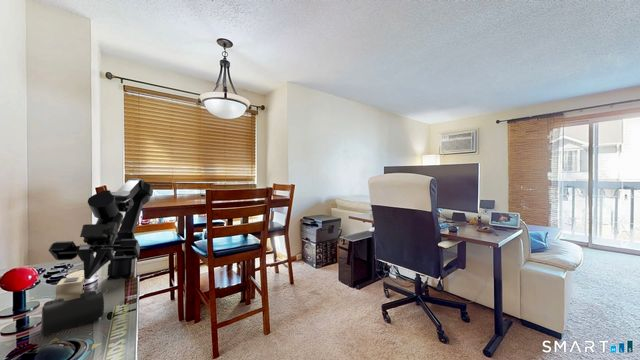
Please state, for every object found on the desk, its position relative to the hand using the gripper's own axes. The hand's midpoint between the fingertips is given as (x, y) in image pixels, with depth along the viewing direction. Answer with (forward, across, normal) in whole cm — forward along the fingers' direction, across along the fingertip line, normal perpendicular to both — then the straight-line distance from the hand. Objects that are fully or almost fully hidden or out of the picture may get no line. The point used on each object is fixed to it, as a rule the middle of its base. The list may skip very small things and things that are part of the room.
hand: (86, 278), depth 63 cm
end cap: (+11, 0, +2) cm, 11 cm away
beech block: (-2, -8, +15) cm, 17 cm away
